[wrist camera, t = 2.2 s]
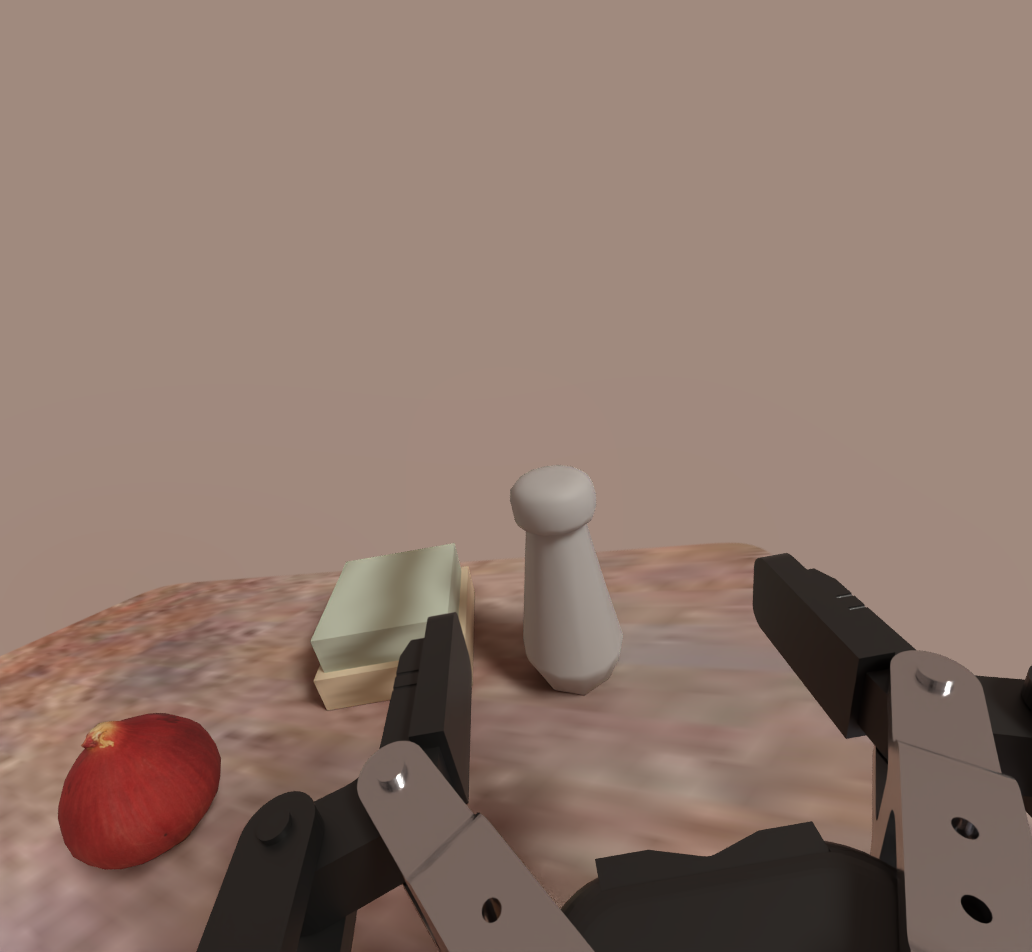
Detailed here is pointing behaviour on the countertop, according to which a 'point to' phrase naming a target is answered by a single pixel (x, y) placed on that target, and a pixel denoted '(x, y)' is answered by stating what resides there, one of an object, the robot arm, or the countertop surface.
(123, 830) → the onion
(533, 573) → the salt shaker
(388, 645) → the brick base
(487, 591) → the countertop surface
